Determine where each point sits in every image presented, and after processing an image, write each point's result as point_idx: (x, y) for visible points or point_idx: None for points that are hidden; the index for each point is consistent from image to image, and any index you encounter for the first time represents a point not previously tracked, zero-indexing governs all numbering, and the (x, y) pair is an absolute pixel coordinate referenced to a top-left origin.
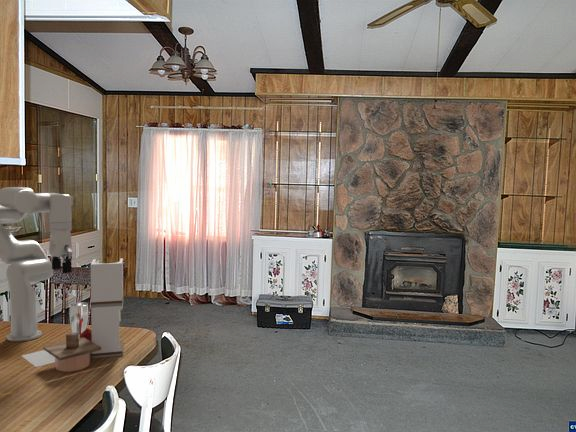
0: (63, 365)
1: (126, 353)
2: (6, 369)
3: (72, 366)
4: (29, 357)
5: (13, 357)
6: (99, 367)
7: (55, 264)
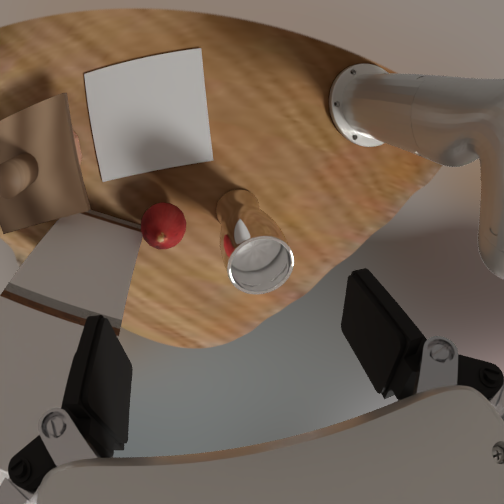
0: None
1: None
2: (125, 12)
3: None
4: (168, 64)
5: (209, 32)
6: None
7: (366, 323)
